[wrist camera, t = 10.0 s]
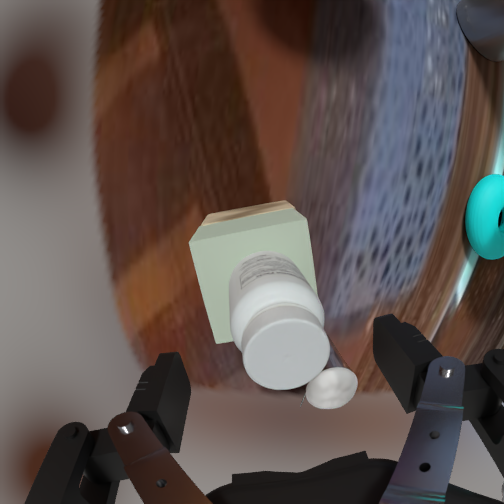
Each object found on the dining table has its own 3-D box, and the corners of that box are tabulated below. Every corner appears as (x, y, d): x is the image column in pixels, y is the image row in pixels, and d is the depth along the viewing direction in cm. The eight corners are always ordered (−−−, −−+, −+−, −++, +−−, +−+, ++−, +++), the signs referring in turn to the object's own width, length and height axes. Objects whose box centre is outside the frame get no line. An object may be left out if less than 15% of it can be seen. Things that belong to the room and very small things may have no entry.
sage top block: (292, 207, 23) (306, 219, 18) (306, 294, 25) (320, 323, 20) (199, 226, 23) (188, 242, 18) (220, 310, 25) (216, 343, 20)
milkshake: (288, 321, 31) (306, 383, 21) (337, 323, 31) (371, 381, 21) (281, 357, 32) (295, 424, 22) (328, 359, 32) (355, 421, 22)
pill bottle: (283, 324, 20) (311, 406, 12) (218, 303, 19) (215, 385, 11) (312, 263, 19) (362, 324, 11) (244, 238, 18) (257, 290, 10)
